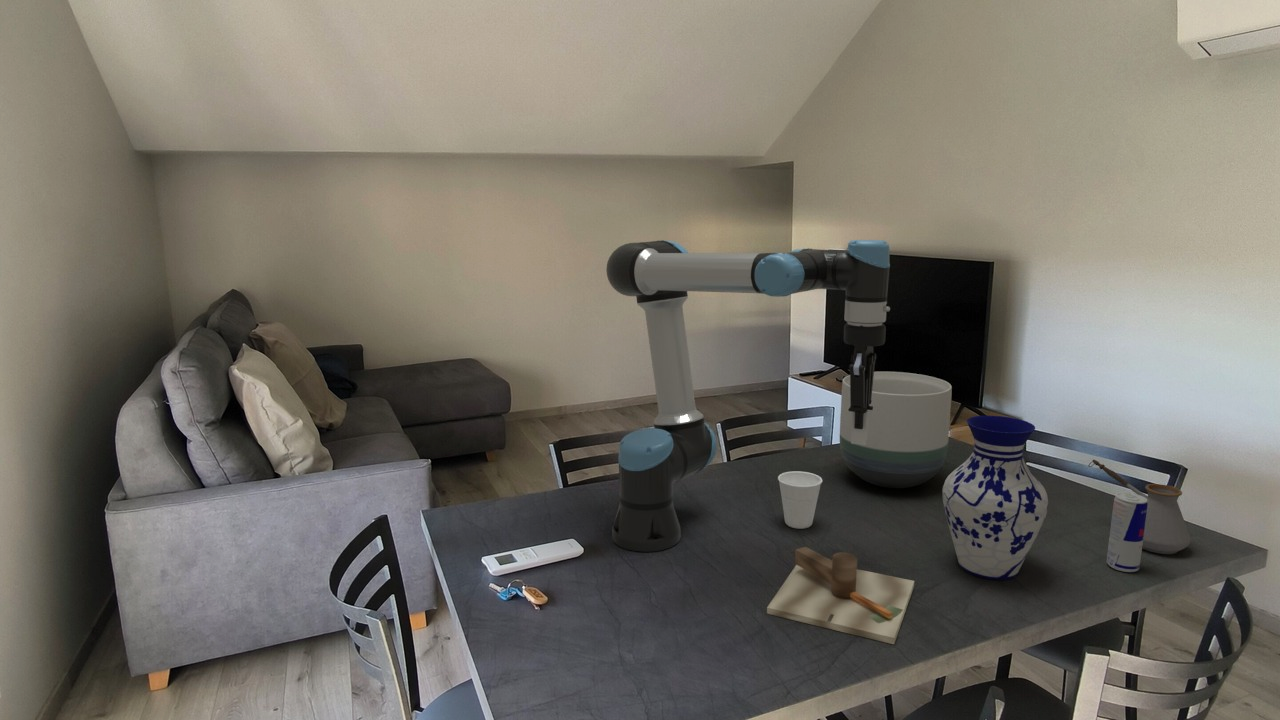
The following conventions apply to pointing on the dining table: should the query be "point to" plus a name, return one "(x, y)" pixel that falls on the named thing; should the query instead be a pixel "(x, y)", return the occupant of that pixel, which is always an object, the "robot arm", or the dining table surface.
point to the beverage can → (1127, 531)
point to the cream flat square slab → (844, 604)
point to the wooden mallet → (837, 574)
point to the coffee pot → (1159, 517)
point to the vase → (994, 500)
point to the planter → (899, 429)
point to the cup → (799, 497)
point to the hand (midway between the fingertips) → (859, 443)
